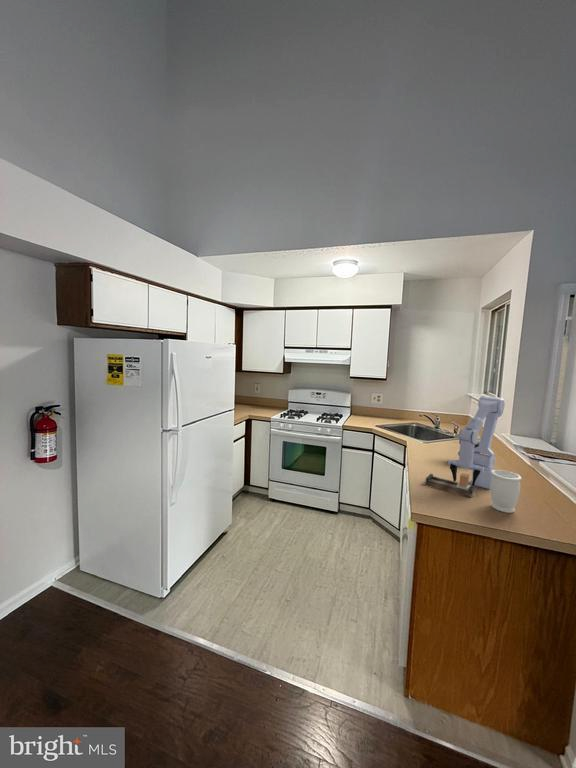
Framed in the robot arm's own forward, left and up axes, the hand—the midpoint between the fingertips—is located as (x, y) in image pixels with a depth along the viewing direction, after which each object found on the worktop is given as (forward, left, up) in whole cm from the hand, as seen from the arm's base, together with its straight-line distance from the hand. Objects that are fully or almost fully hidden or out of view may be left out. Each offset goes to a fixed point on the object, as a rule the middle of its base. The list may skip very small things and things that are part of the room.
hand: (463, 483), depth 148 cm
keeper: (0, 0, -3) cm, 3 cm away
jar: (-16, +6, -5) cm, 18 cm away
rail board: (+6, 0, -4) cm, 7 cm away
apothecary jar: (+6, -45, -5) cm, 46 cm away
